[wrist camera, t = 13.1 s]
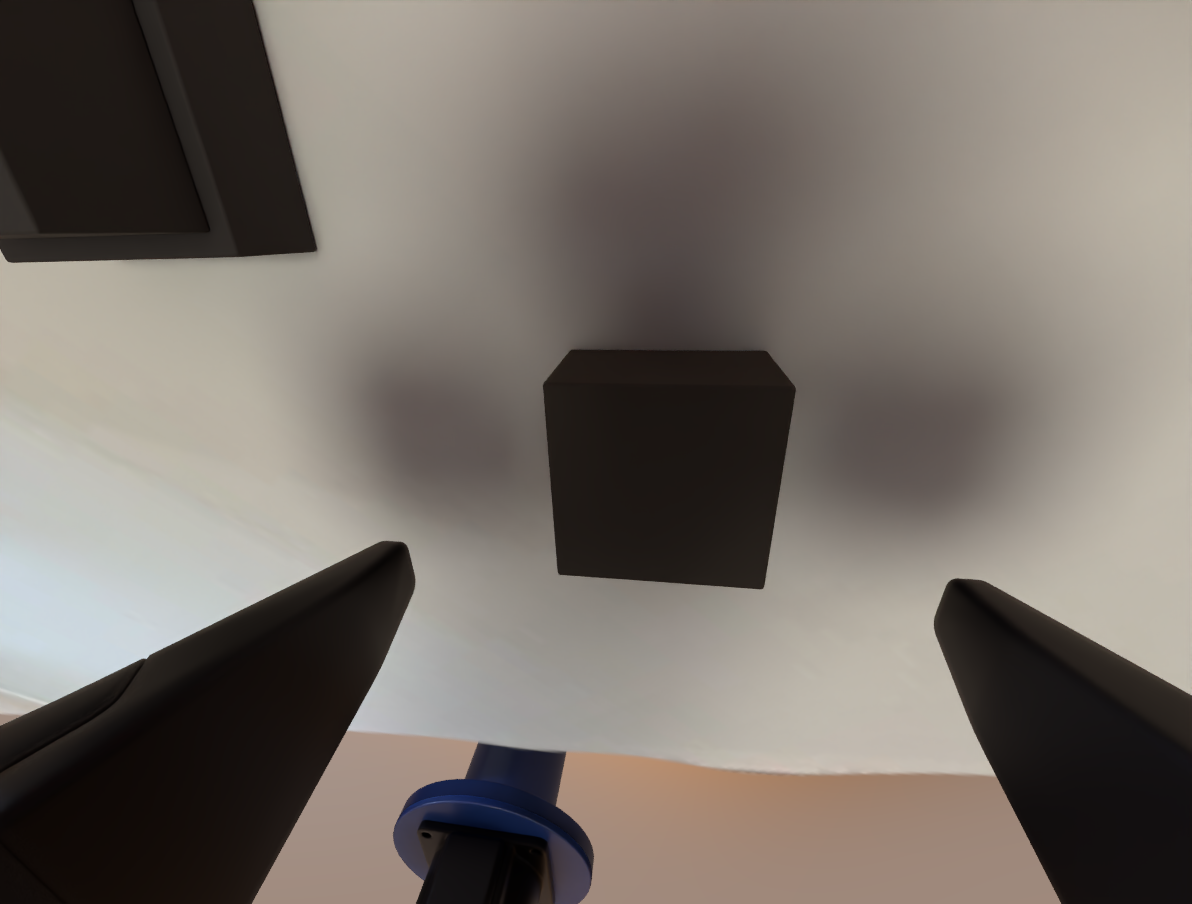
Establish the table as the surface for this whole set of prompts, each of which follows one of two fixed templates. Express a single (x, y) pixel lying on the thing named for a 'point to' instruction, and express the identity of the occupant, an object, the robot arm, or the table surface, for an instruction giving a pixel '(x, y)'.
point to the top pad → (667, 463)
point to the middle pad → (86, 127)
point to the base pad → (209, 142)
